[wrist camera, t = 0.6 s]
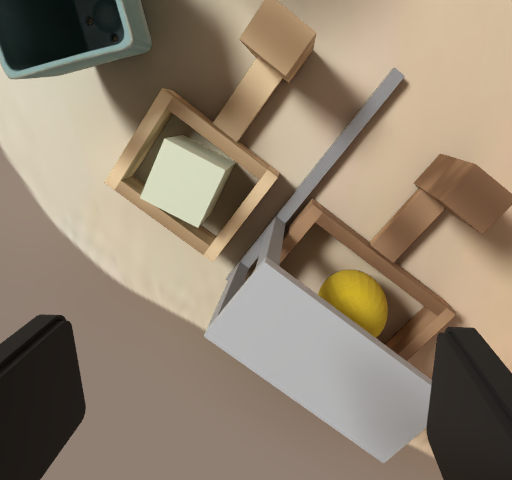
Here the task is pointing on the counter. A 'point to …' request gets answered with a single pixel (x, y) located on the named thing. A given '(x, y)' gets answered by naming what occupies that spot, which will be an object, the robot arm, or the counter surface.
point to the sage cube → (187, 179)
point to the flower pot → (68, 35)
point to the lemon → (357, 299)
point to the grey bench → (320, 333)
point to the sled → (223, 122)
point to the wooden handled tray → (415, 236)
